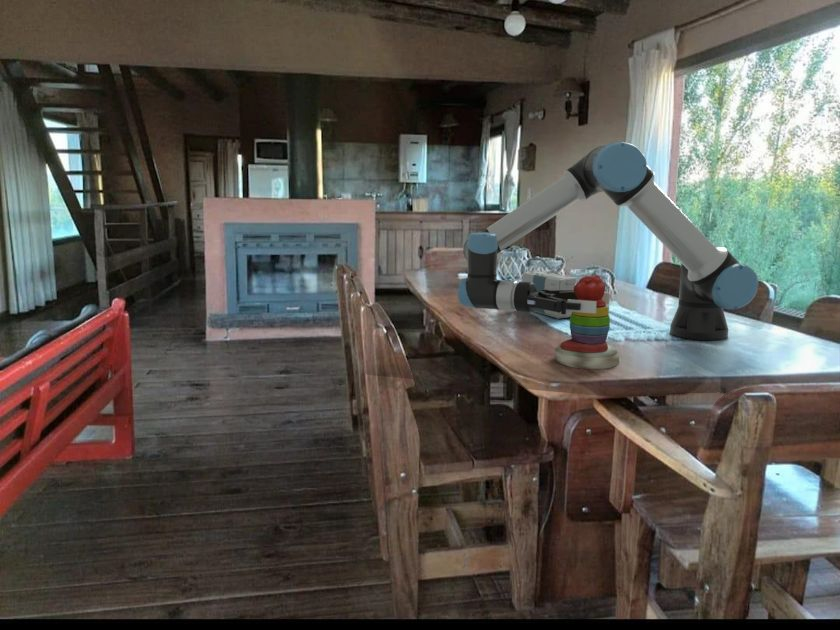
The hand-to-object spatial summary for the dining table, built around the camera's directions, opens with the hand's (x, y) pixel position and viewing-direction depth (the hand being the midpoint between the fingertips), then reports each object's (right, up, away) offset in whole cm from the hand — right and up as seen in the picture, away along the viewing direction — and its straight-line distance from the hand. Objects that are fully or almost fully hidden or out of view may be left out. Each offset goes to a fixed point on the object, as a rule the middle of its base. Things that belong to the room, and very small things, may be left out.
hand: (603, 302), depth 151 cm
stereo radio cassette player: (0, -3, +64) cm, 64 cm away
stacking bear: (-3, -11, +4) cm, 12 cm away
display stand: (-3, -14, +4) cm, 15 cm away
